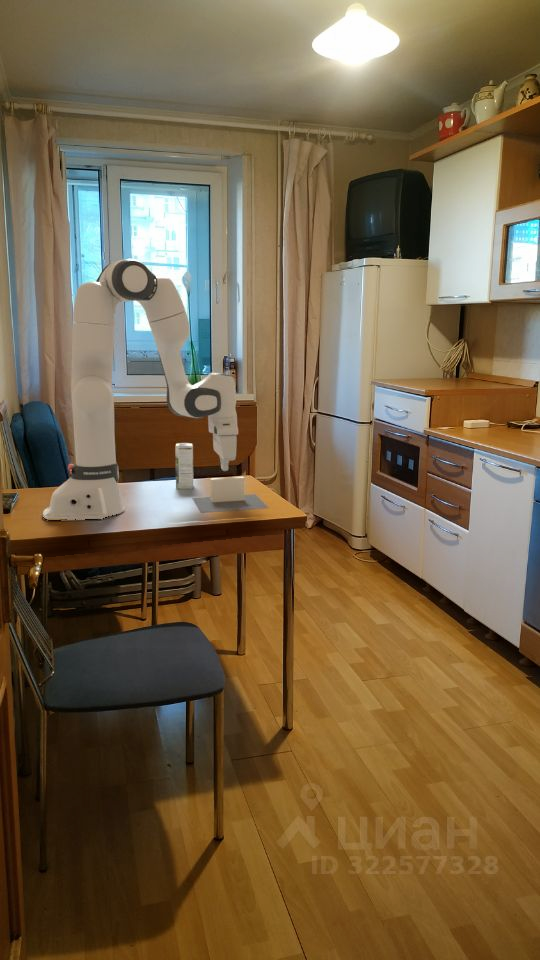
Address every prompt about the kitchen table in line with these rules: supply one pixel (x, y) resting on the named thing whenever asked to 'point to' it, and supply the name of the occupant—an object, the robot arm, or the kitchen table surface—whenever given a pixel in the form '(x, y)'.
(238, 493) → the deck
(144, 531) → the kitchen table surface
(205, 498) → the mat
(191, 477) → the syrup box
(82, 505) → the robot arm
